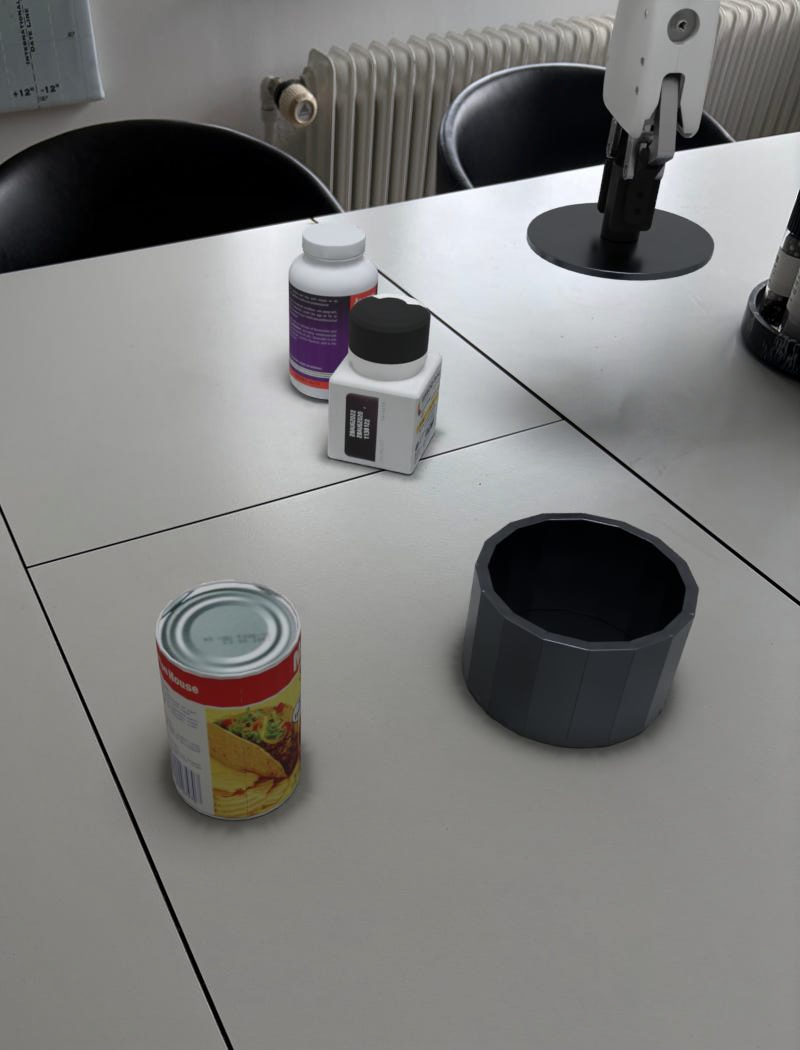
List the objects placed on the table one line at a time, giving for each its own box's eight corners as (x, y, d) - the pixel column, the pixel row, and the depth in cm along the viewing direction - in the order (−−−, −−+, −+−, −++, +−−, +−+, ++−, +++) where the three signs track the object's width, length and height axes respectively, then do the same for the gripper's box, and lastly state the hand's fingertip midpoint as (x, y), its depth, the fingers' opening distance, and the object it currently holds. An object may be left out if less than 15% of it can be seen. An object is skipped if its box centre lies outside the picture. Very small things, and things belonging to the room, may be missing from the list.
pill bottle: (358, 411, 96) (365, 257, 86) (277, 396, 98) (274, 244, 88) (383, 371, 102) (391, 223, 92) (305, 358, 103) (305, 211, 94)
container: (411, 476, 88) (423, 333, 79) (326, 458, 90) (328, 316, 81) (436, 431, 94) (450, 293, 85) (354, 415, 95) (360, 278, 87)
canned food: (327, 770, 64) (331, 625, 56) (231, 843, 60) (221, 698, 52) (241, 704, 68) (234, 560, 60) (146, 769, 64) (124, 624, 56)
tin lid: (679, 215, 89) (698, 131, 85) (736, 287, 78) (761, 196, 74) (510, 217, 89) (521, 134, 84) (544, 290, 78) (558, 199, 74)
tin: (635, 606, 76) (662, 511, 70) (690, 745, 66) (728, 648, 60) (450, 609, 76) (463, 513, 70) (478, 750, 66) (495, 652, 60)
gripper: (775, -33, 64) (701, 262, 76) (694, -77, 76) (642, 183, 88) (654, -32, 64) (600, 263, 76) (592, -76, 76) (554, 185, 88)
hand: (623, 218), depth 82 cm, fingers closed on tin lid, 3 cm apart
